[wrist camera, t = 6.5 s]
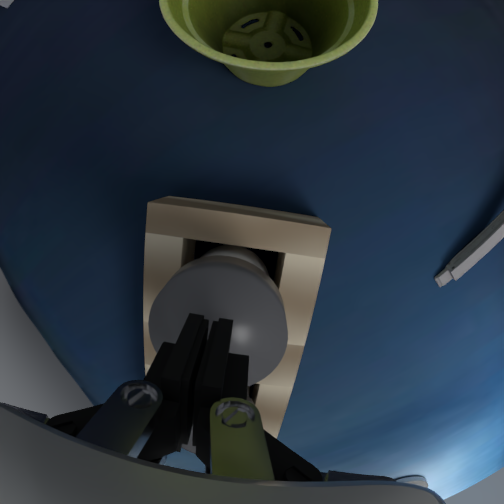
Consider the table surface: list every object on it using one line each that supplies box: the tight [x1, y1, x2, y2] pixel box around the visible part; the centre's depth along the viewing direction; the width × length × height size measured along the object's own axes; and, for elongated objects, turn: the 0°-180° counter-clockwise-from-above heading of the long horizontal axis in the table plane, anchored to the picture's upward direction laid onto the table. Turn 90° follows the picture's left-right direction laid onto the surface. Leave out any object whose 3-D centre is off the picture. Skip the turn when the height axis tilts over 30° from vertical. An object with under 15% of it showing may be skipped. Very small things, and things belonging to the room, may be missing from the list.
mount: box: [143, 196, 331, 439], centre depth 20 cm, size 18×10×4 cm, turn 172°
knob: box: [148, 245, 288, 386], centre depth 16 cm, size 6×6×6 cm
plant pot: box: [159, 0, 378, 87], centre depth 13 cm, size 9×9×9 cm
